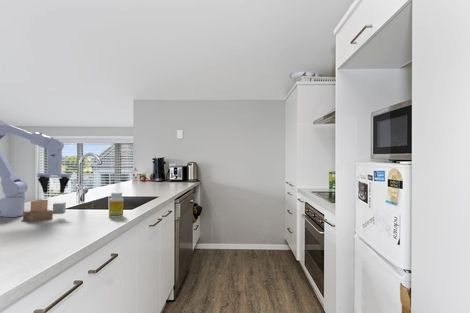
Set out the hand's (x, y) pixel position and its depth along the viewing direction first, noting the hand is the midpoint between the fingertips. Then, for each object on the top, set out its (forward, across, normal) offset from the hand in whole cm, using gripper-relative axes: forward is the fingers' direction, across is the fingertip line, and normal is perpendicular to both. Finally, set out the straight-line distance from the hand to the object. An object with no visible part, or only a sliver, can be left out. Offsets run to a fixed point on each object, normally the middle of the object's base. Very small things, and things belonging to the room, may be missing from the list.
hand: (53, 192), depth 135 cm
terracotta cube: (+7, 0, -10) cm, 12 cm away
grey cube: (+10, -1, +8) cm, 13 cm away
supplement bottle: (+11, +30, -3) cm, 32 cm away
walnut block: (+11, -1, -10) cm, 15 cm away
